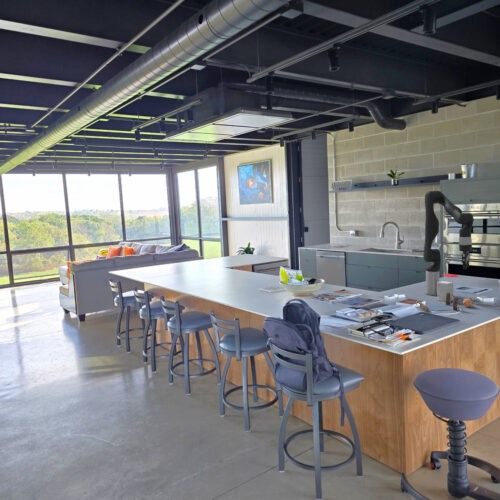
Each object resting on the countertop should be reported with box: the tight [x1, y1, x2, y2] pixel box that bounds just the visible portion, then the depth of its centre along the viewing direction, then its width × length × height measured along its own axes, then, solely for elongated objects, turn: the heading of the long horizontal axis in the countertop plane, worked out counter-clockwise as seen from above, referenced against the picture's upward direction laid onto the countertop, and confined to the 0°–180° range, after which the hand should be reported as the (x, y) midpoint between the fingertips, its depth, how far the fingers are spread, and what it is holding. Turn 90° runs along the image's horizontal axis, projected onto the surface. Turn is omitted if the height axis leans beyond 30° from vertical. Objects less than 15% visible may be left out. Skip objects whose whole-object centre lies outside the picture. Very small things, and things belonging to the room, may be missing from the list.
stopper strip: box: [415, 300, 430, 313], centre depth 282 cm, size 20×2×2 cm, turn 175°
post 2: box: [452, 296, 459, 311], centre depth 273 cm, size 3×3×8 cm
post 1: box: [445, 293, 451, 306], centre depth 286 cm, size 3×3×8 cm
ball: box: [462, 298, 473, 308], centre depth 279 cm, size 6×6×6 cm
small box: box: [436, 280, 454, 303], centre depth 296 cm, size 8×6×13 cm
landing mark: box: [424, 304, 452, 312], centre depth 281 cm, size 13×13×1 cm
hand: (466, 268), depth 284 cm, fingers open, 8 cm apart
